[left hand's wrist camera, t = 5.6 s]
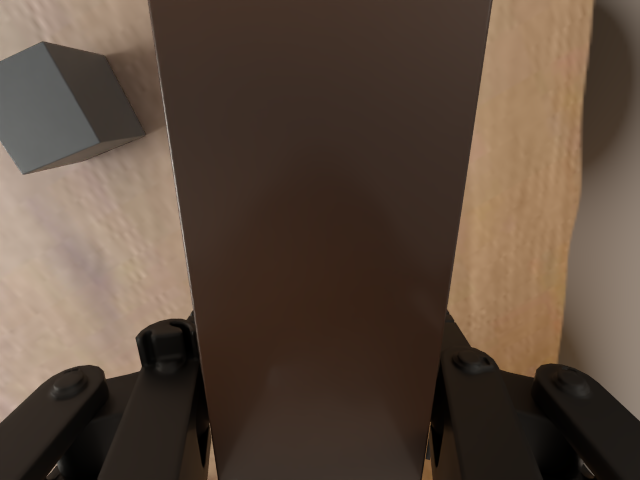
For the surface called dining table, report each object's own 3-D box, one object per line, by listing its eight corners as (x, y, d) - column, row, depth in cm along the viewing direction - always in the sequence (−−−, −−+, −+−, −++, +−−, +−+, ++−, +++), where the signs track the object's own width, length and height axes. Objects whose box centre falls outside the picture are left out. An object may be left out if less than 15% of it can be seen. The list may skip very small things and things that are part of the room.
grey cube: (146, 135, 23) (100, 142, 18) (82, 161, 23) (22, 175, 19) (104, 55, 21) (42, 40, 16) (36, 85, 22) (-42, 80, 17)
